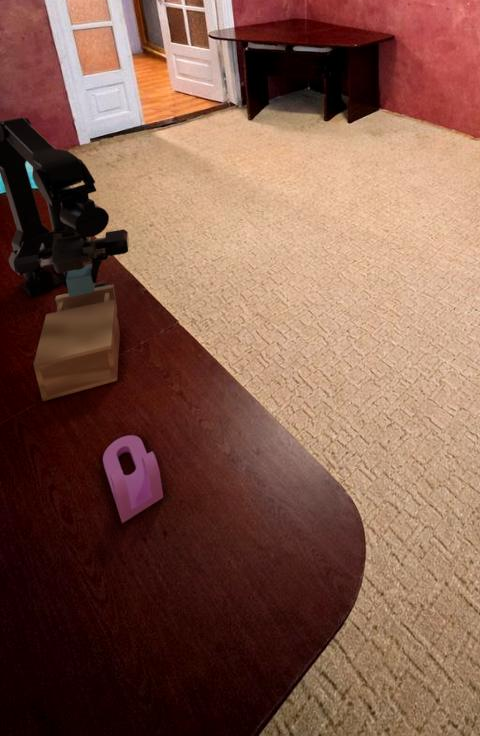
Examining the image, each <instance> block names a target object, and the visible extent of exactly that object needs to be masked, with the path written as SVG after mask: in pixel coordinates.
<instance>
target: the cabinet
mask: <svg viewBox="0 0 480 736" xmlns="http://www.w3.org/2000/svg"><path fill="white" fill-rule="evenodd" d="M120 336H121V331H120V324H119V318H118V311H117V312H116V306H115V300H110V301H106V302H101V303H96V304H92V305H87V306H82V307H78V308H73V309H68V310H64V311H59V312H57V311H55V312H49V313H46V314H45V318H44V322H43V325H42V330H41V334H40V338H39V342H38V345H37V349H36V353H35V356H34V361H33V368H34V373H35V376H36V381H37V385H38V388H39V389H38V390H39V392H40V397H41V401H42V402H46V401H49V400H53V399H57V398H60V397H63V396H67V395H71V394H75V393H78V392H83V391H85V390H88V389H89V390H90V389H93V388H96V387H99V386H103V385H106V384H110V383H115V382H117V381H118V374H119V373H118V371H119V357H120V356H119V355H120V338H121V337H120Z"/></svg>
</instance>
